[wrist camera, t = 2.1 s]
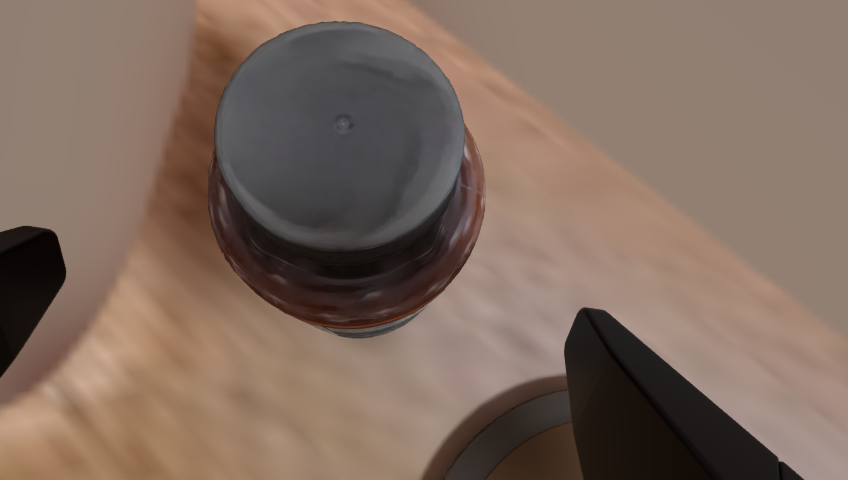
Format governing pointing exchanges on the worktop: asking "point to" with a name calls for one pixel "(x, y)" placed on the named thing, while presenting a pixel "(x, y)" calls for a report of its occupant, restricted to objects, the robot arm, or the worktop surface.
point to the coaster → (523, 445)
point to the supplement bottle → (344, 178)
